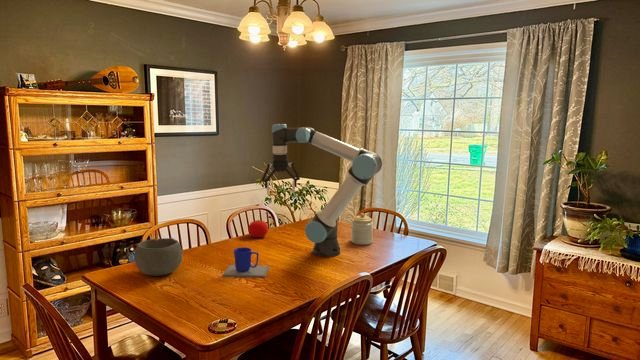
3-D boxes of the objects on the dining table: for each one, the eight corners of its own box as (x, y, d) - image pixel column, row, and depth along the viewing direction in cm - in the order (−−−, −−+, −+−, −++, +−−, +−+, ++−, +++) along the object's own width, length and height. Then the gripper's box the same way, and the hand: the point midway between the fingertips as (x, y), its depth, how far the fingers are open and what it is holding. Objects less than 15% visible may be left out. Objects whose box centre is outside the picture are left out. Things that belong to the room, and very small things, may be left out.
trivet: (269, 267, 214) (269, 265, 214) (265, 277, 200) (265, 275, 200) (229, 266, 215) (229, 264, 214) (222, 276, 201) (222, 274, 201)
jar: (376, 241, 261) (377, 212, 258) (366, 246, 250) (367, 216, 248) (357, 237, 268) (358, 210, 265) (347, 242, 257) (347, 213, 254)
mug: (255, 274, 202) (255, 253, 200) (231, 272, 204) (231, 251, 203) (261, 268, 210) (261, 248, 208) (238, 266, 212) (237, 246, 211)
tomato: (266, 239, 262) (266, 222, 261) (246, 239, 262) (246, 222, 261) (269, 234, 273) (269, 218, 272) (250, 234, 274) (249, 217, 272)
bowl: (137, 284, 190) (135, 252, 188) (133, 269, 209) (132, 239, 206) (186, 277, 200) (185, 245, 198) (178, 263, 218) (177, 234, 216)
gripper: (302, 152, 231) (302, 191, 234) (255, 153, 225) (256, 193, 228) (304, 153, 223) (305, 193, 226) (256, 155, 218) (257, 196, 221)
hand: (281, 193), depth 227 cm, fingers open, 13 cm apart
